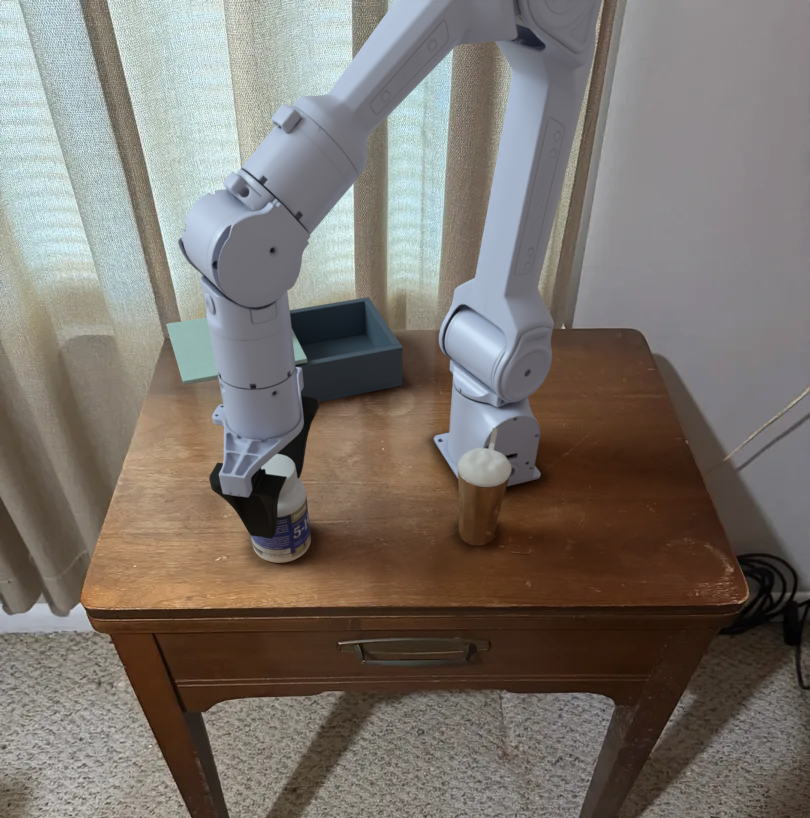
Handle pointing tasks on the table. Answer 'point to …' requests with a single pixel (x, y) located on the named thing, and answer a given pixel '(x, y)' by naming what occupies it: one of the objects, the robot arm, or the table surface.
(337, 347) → the case
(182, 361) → the sliding lid
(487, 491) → the milkshake
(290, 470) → the pill bottle
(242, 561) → the table surface
